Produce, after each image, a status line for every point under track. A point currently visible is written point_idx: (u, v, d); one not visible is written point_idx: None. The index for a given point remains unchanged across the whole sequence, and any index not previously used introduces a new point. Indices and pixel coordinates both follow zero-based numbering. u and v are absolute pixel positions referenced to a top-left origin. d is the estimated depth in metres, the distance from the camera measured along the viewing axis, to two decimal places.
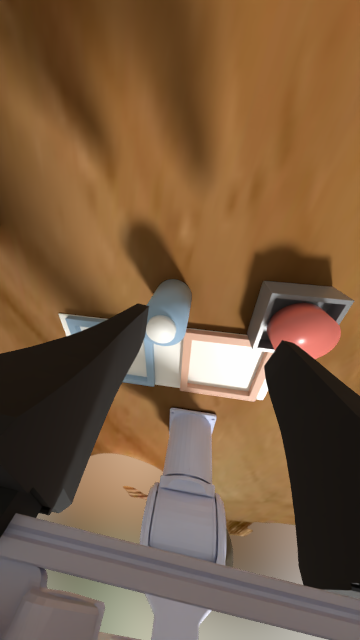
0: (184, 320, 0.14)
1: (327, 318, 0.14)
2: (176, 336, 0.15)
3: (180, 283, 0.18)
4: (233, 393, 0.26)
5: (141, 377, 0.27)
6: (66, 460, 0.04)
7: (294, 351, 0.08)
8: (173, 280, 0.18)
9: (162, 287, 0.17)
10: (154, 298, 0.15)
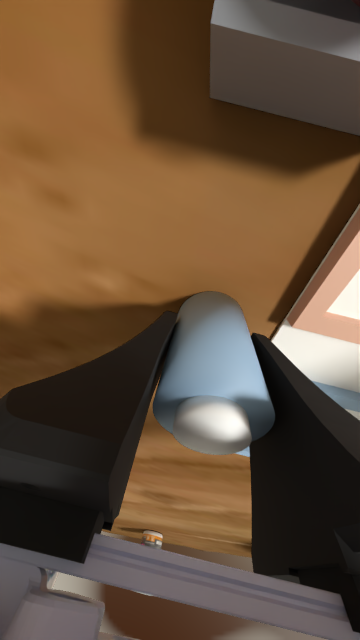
0: (201, 373, 0.05)
1: None
2: (248, 402, 0.05)
3: (182, 307, 0.10)
4: None
5: None
6: (125, 475, 0.04)
7: (261, 343, 0.08)
8: (177, 317, 0.11)
9: None
10: None
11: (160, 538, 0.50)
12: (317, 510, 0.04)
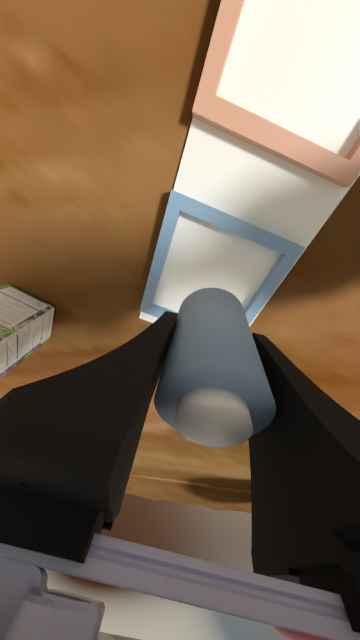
0: (195, 366, 0.05)
1: None
2: (246, 392, 0.05)
3: (181, 306, 0.10)
4: None
5: (274, 266, 0.15)
6: (125, 475, 0.04)
7: (261, 343, 0.08)
8: None
9: None
10: None
11: None
12: (317, 510, 0.04)
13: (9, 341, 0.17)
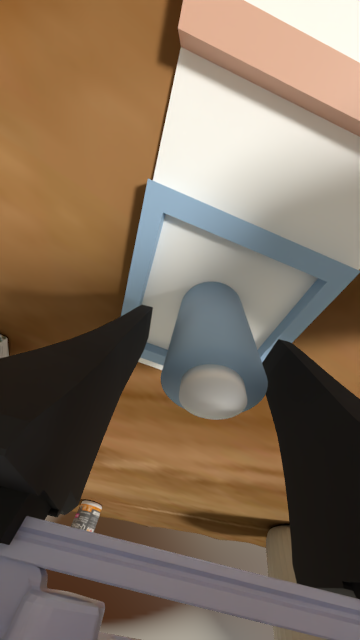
0: (197, 344, 0.06)
1: None
2: (241, 367, 0.06)
3: (183, 299, 0.11)
4: None
5: (306, 295, 0.10)
6: (74, 462, 0.04)
7: (290, 350, 0.08)
8: None
9: None
10: None
11: (98, 509, 0.47)
12: None
13: None
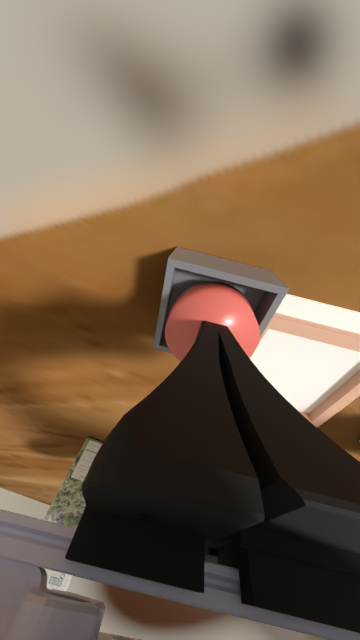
0: None
1: (171, 317, 0.09)
2: None
3: None
4: None
5: None
6: None
7: (219, 332, 0.08)
8: None
9: None
10: None
11: None
12: None
13: None
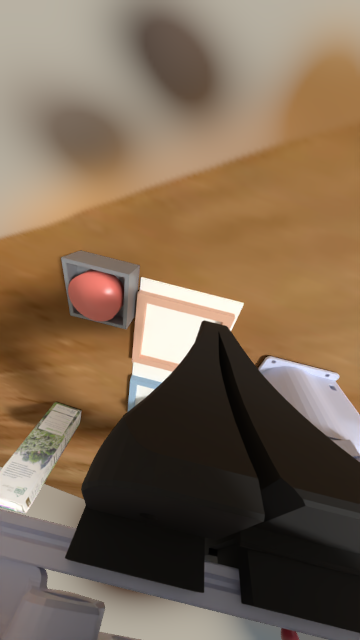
0: None
1: (69, 287, 0.17)
2: None
3: None
4: None
5: None
6: None
7: (219, 332, 0.08)
8: None
9: None
10: None
11: None
12: None
13: (62, 442, 0.32)
